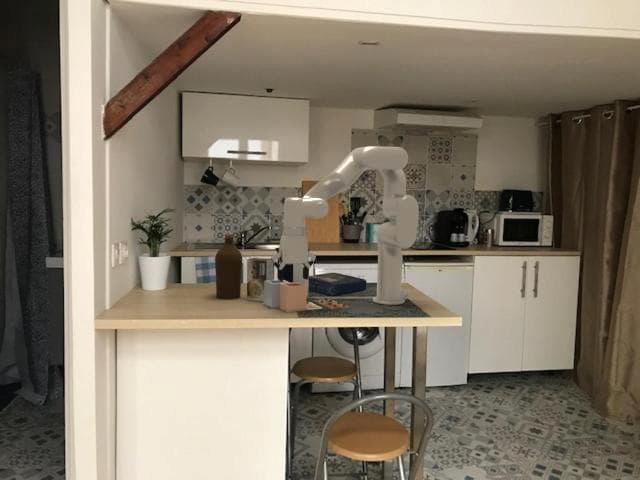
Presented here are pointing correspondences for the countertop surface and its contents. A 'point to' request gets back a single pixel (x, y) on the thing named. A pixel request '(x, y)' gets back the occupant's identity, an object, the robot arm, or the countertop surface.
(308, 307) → the card
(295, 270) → the travel mug
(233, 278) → the olive oil
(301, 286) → the pink square planter
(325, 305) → the speckled flat slab
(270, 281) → the grey square pot
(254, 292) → the coffee box
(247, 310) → the countertop surface
